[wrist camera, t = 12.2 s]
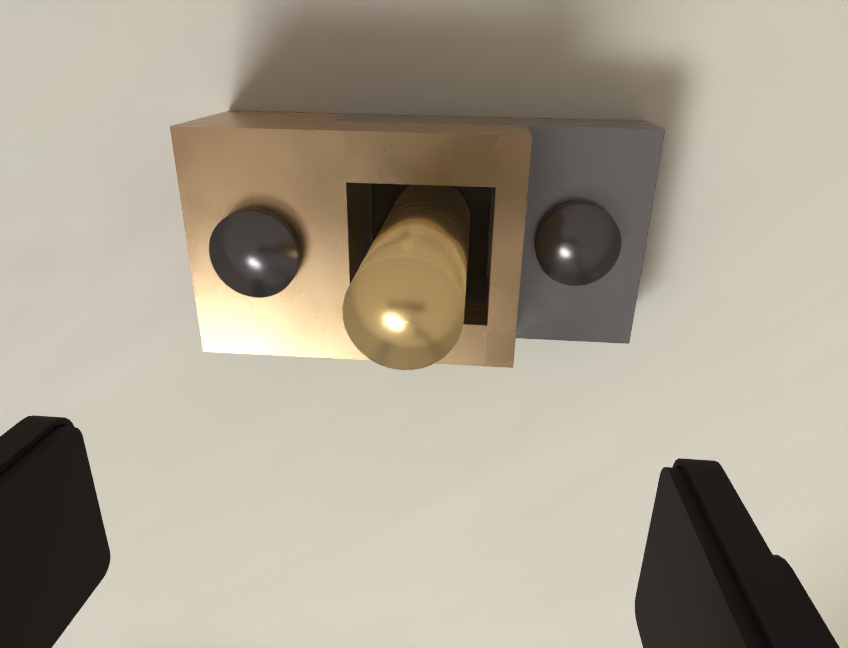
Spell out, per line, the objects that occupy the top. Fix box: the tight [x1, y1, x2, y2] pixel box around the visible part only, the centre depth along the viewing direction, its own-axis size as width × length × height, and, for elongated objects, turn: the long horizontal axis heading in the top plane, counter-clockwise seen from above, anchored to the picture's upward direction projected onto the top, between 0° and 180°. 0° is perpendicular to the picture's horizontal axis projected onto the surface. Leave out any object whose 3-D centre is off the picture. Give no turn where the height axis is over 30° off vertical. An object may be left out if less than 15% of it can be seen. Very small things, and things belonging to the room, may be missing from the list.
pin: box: [342, 185, 470, 370], centre depth 21 cm, size 3×3×10 cm
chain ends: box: [170, 111, 665, 368], centre depth 23 cm, size 16×8×6 cm, turn 89°
